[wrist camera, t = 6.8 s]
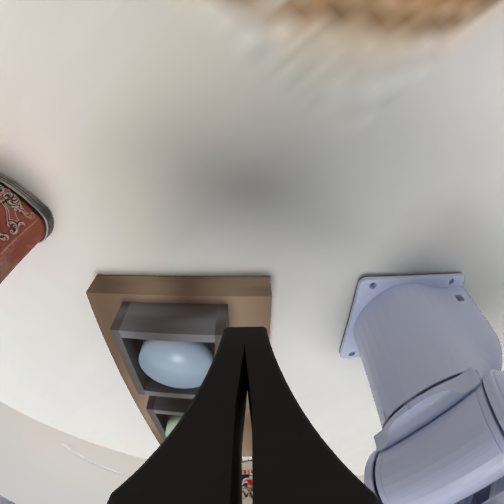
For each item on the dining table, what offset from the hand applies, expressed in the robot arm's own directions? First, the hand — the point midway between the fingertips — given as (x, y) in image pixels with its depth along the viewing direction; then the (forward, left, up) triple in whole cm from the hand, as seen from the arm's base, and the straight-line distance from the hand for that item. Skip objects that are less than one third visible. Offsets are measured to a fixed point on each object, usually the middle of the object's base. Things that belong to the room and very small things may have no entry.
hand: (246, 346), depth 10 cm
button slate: (+5, +7, -6) cm, 11 cm away
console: (+5, +16, -9) cm, 19 cm away
